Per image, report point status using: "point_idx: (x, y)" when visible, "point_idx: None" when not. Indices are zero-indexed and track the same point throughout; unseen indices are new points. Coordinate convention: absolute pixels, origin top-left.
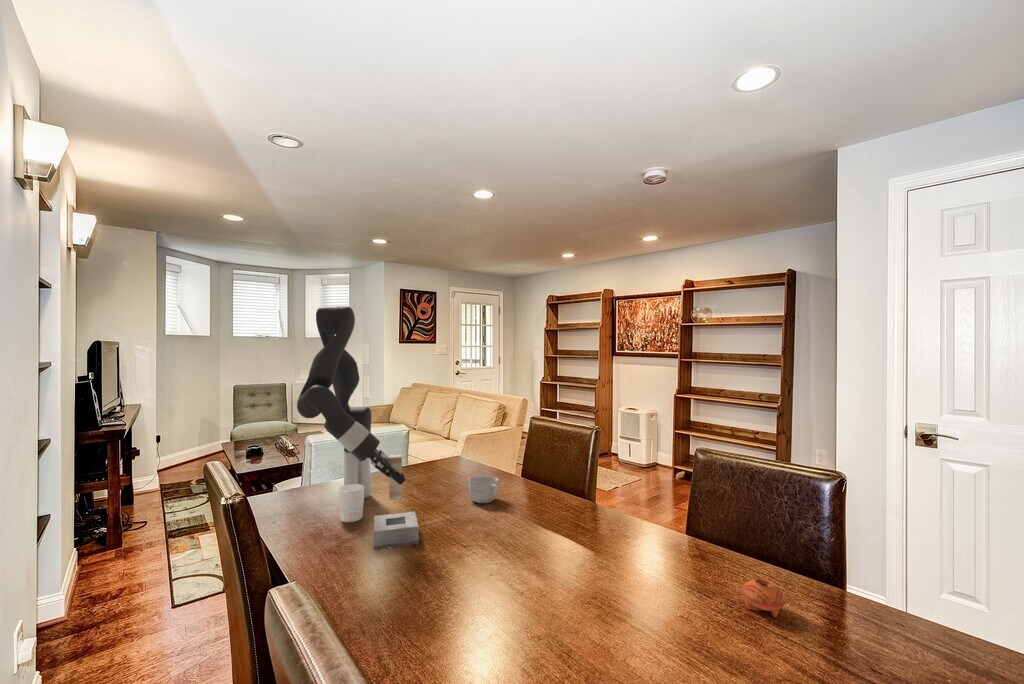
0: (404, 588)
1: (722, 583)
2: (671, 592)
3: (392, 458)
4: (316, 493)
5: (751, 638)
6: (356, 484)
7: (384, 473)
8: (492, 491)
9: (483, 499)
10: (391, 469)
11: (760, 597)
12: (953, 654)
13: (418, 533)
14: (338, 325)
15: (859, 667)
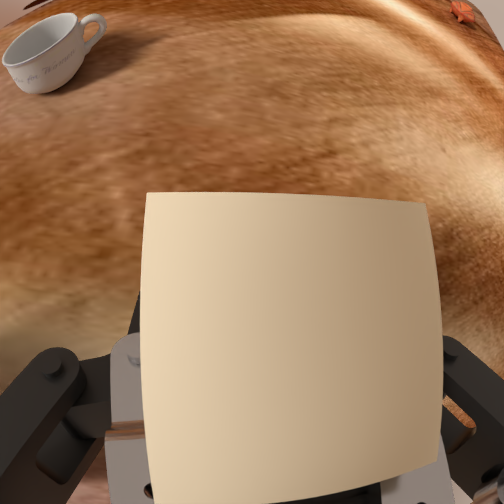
0: (475, 305)
1: (427, 4)
2: (448, 33)
3: (433, 404)
4: None
5: (488, 48)
6: None
7: (461, 432)
8: (82, 36)
9: (80, 64)
10: (482, 371)
11: (474, 17)
12: (472, 8)
13: None
14: None
15: (494, 38)
